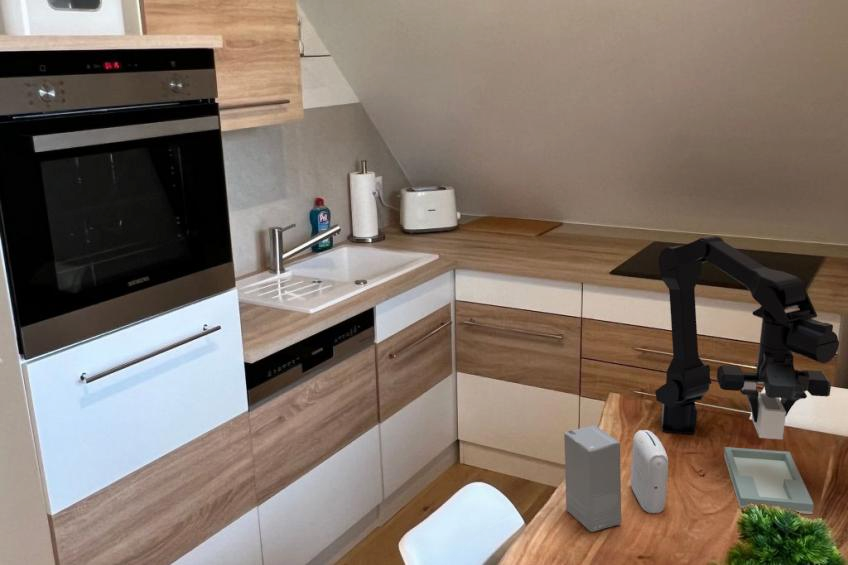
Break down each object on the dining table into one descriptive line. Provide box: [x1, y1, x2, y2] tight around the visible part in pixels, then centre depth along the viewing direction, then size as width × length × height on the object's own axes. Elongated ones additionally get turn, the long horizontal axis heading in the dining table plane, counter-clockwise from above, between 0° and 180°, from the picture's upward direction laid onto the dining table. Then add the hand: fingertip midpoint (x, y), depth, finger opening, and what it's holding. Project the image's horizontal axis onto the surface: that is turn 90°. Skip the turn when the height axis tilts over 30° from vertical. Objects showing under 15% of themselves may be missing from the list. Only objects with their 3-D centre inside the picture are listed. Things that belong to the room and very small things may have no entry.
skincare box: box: [563, 424, 622, 533], centre depth 141 cm, size 8×7×16 cm
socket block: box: [751, 392, 787, 440], centre depth 153 cm, size 4×8×6 cm, turn 169°
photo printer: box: [629, 429, 669, 514], centre depth 147 cm, size 10×4×12 cm, turn 2°
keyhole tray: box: [723, 446, 815, 515], centre depth 153 cm, size 12×19×2 cm, turn 169°
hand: (767, 422), depth 153 cm, fingers closed on socket block, 4 cm apart
